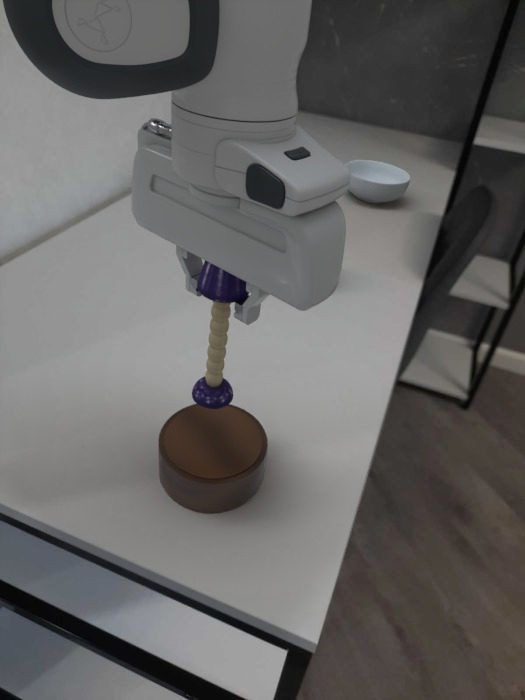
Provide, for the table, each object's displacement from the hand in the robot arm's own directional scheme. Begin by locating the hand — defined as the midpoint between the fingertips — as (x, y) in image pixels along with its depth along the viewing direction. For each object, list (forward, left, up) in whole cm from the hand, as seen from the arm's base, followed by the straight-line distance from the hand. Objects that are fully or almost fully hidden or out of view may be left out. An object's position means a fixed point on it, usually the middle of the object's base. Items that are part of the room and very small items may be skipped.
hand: (221, 305), depth 46 cm
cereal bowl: (+92, +32, -23) cm, 100 cm away
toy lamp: (0, 0, -11) cm, 11 cm away
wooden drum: (0, 0, -23) cm, 23 cm away
